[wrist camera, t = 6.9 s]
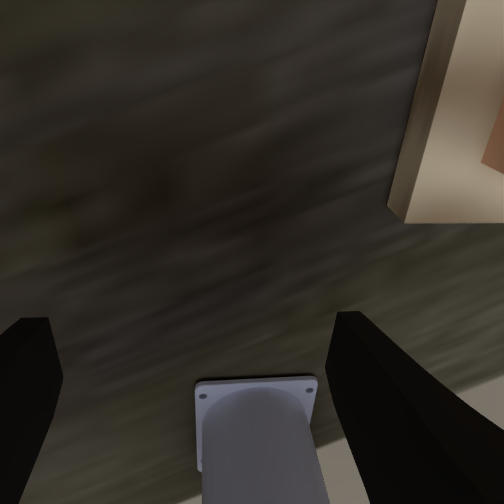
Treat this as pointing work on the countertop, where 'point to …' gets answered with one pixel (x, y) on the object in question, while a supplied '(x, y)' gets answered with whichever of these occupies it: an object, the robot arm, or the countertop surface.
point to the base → (454, 120)
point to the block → (496, 144)
